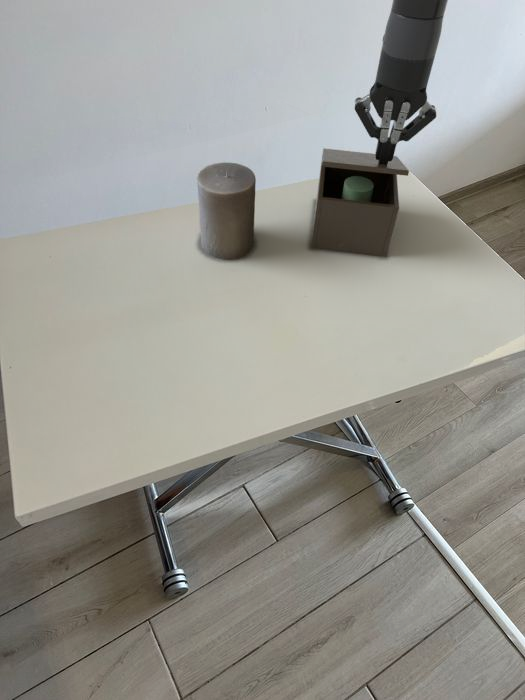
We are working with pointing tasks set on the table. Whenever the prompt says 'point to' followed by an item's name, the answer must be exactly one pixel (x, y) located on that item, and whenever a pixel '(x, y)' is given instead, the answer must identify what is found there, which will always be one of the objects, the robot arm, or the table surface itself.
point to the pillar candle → (226, 209)
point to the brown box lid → (361, 162)
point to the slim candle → (357, 189)
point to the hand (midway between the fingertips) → (382, 161)
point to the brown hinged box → (354, 214)
